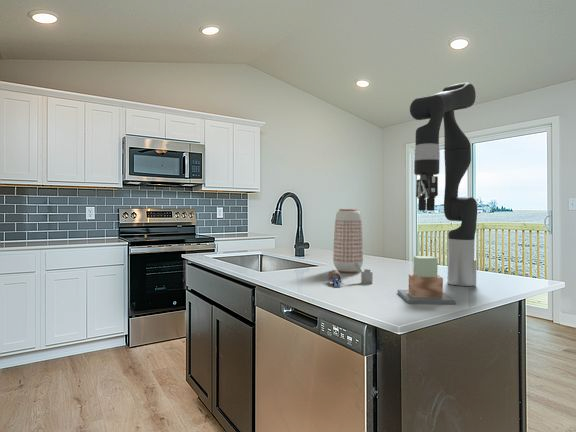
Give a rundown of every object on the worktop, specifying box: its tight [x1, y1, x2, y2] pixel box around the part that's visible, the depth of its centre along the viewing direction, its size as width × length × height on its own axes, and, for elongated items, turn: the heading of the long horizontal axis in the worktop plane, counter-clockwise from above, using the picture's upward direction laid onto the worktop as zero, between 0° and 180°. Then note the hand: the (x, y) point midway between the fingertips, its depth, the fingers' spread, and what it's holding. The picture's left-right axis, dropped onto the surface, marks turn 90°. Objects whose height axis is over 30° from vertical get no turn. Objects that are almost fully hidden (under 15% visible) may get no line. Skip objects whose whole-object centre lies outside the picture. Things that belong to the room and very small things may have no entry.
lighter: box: [354, 262, 374, 284], centre depth 149 cm, size 7×2×8 cm, turn 74°
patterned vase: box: [332, 208, 364, 274], centre depth 175 cm, size 13×13×28 cm
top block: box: [412, 255, 439, 277], centre depth 124 cm, size 6×5×6 cm
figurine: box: [327, 269, 345, 288], centre depth 146 cm, size 6×5×12 cm
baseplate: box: [397, 289, 457, 305], centre depth 124 cm, size 14×14×1 cm
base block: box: [408, 273, 444, 297], centre depth 124 cm, size 9×6×6 cm
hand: (426, 210), depth 123 cm, fingers open, 8 cm apart
